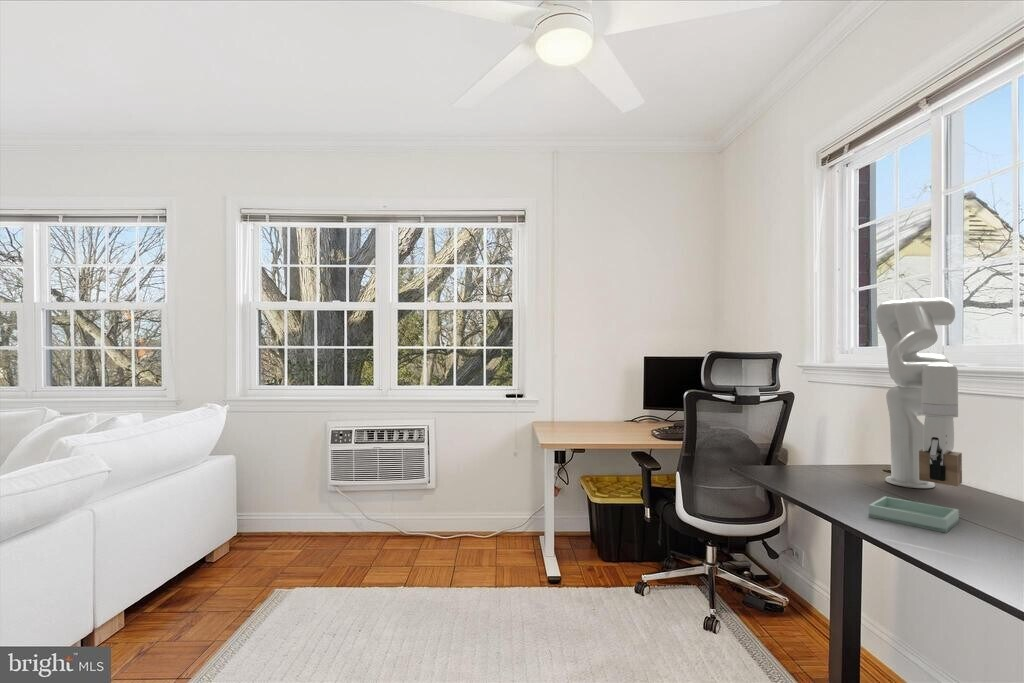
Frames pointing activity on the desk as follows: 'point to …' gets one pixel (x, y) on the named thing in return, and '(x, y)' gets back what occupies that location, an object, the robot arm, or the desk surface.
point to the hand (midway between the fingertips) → (940, 477)
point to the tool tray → (914, 514)
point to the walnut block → (951, 467)
